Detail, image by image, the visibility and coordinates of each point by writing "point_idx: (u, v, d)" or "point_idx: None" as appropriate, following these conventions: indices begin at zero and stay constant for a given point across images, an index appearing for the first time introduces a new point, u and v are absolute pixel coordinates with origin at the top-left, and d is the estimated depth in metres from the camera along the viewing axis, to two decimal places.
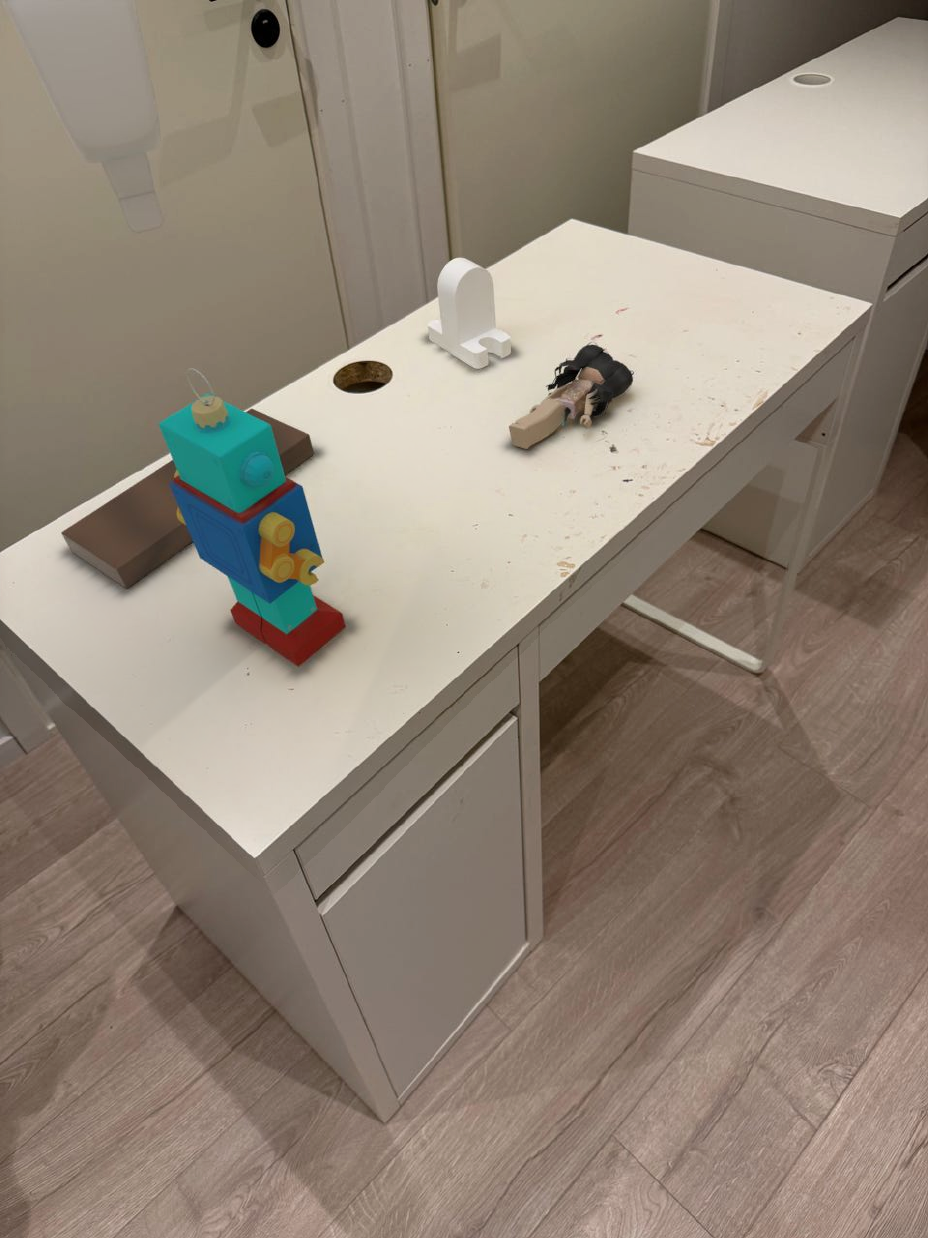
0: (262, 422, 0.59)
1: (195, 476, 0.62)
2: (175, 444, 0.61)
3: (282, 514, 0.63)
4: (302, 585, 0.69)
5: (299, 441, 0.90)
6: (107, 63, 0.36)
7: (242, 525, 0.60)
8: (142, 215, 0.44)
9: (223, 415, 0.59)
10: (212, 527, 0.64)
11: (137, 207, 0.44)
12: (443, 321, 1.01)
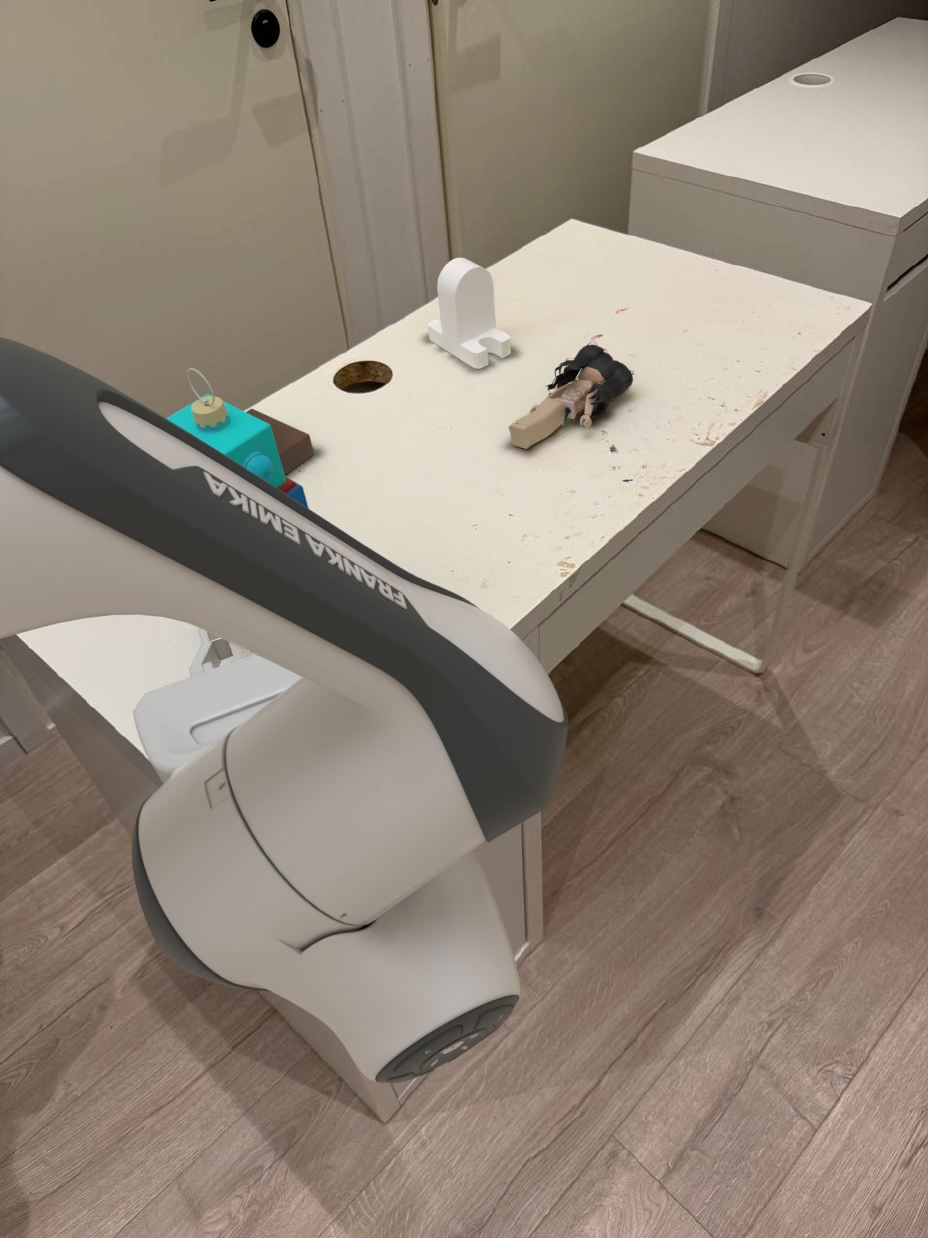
0: (262, 422, 0.59)
1: None
2: None
3: None
4: None
5: (299, 441, 0.90)
6: None
7: None
8: None
9: (223, 415, 0.59)
10: None
11: None
12: (443, 320, 1.01)
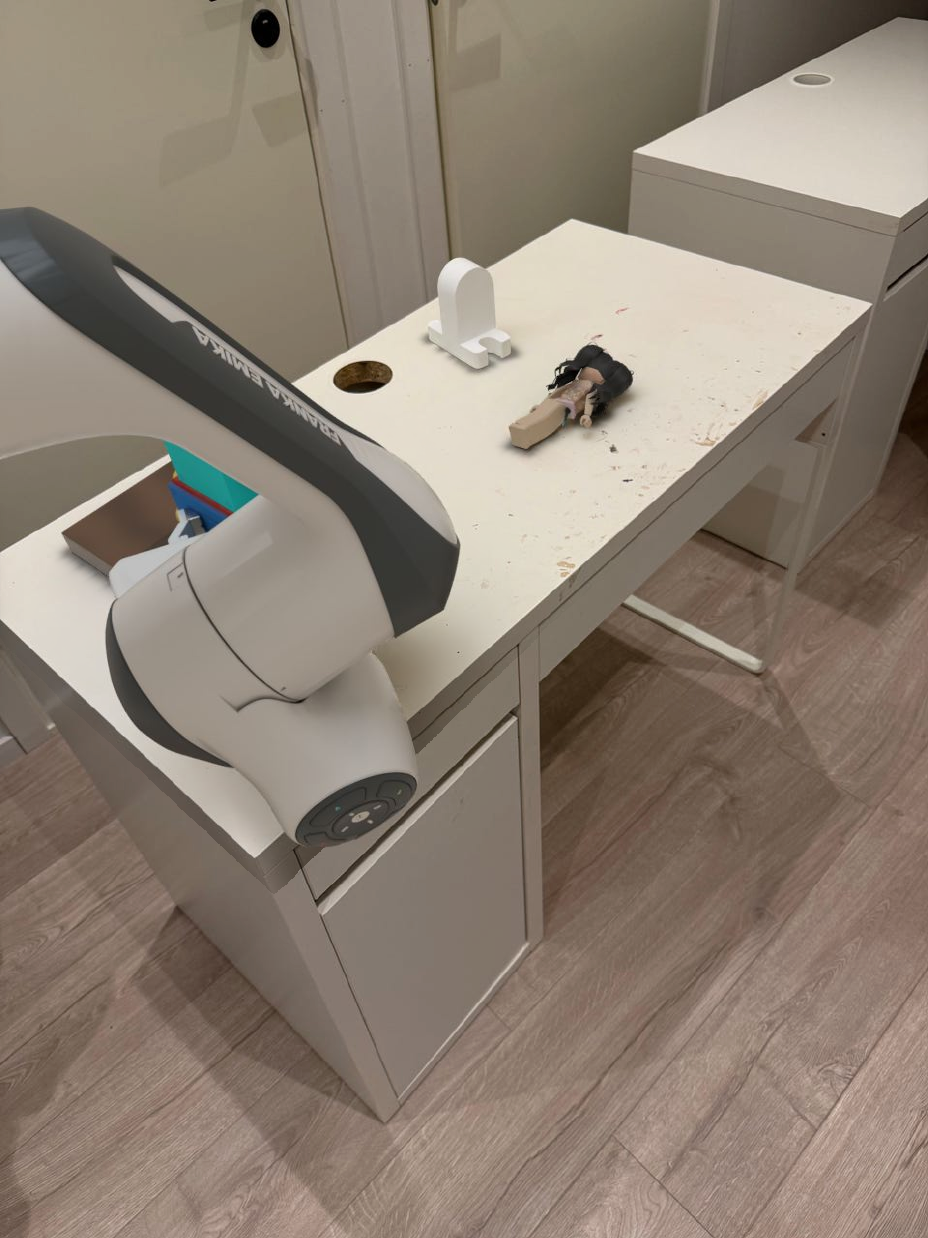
0: None
1: (193, 477, 0.62)
2: (173, 445, 0.61)
3: None
4: None
5: None
6: None
7: None
8: None
9: None
10: (211, 528, 0.64)
11: None
12: (443, 320, 1.01)
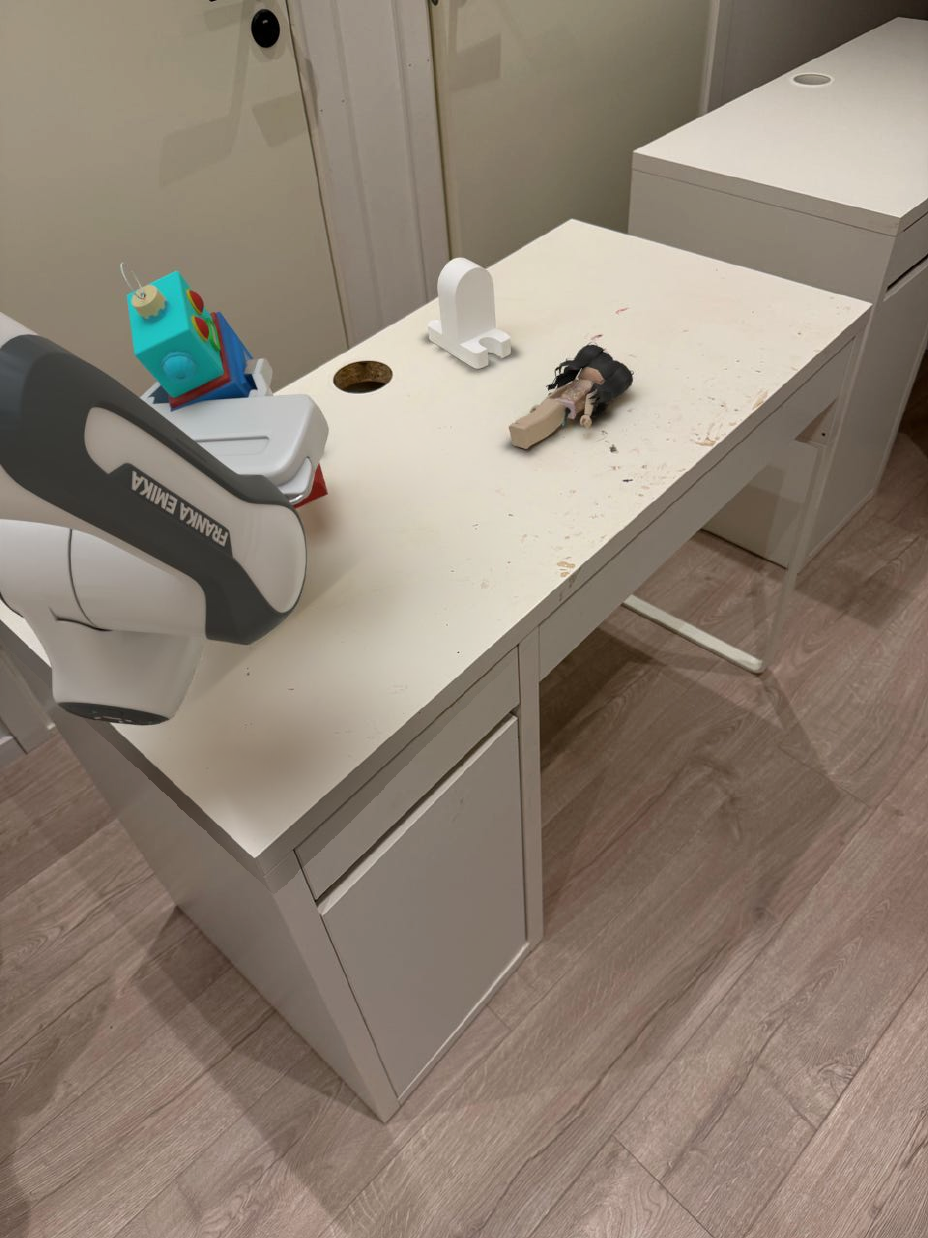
0: (185, 324, 0.63)
1: None
2: None
3: None
4: None
5: None
6: None
7: (171, 410, 0.67)
8: None
9: (154, 309, 0.63)
10: None
11: None
12: (443, 320, 1.01)
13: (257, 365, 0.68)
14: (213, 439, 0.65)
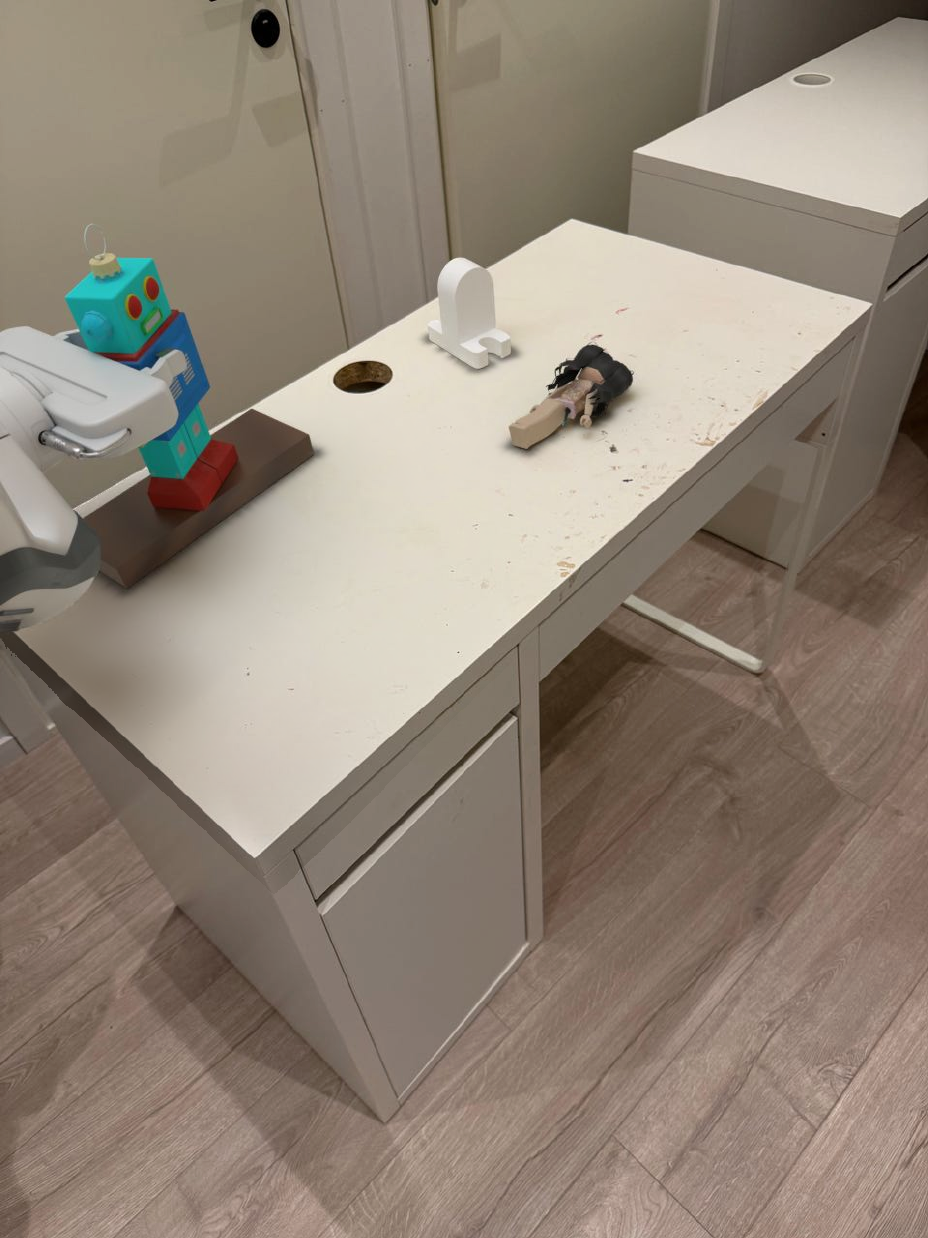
0: (114, 294, 0.69)
1: None
2: None
3: None
4: (164, 448, 0.79)
5: (299, 441, 0.90)
6: None
7: None
8: None
9: (102, 272, 0.70)
10: None
11: None
12: (443, 320, 1.01)
13: (170, 353, 0.73)
14: (73, 382, 0.70)
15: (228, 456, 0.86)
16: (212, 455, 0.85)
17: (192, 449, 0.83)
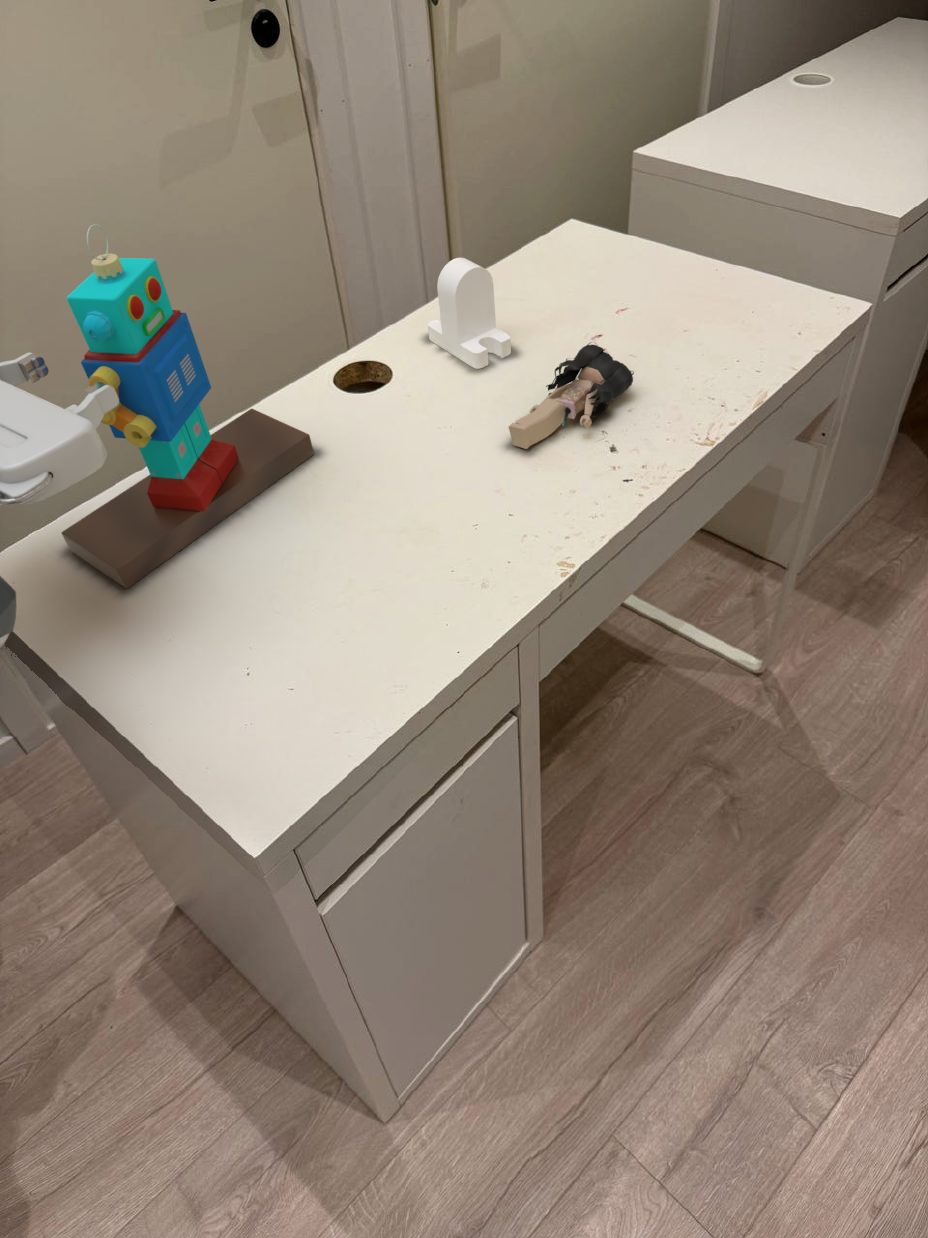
0: (116, 294, 0.69)
1: None
2: None
3: (120, 375, 0.73)
4: (165, 449, 0.79)
5: (299, 441, 0.90)
6: None
7: (82, 360, 0.73)
8: None
9: (104, 273, 0.70)
10: None
11: None
12: (443, 320, 1.01)
13: (100, 388, 0.69)
14: None
15: (228, 456, 0.86)
16: (212, 456, 0.85)
17: (192, 449, 0.83)
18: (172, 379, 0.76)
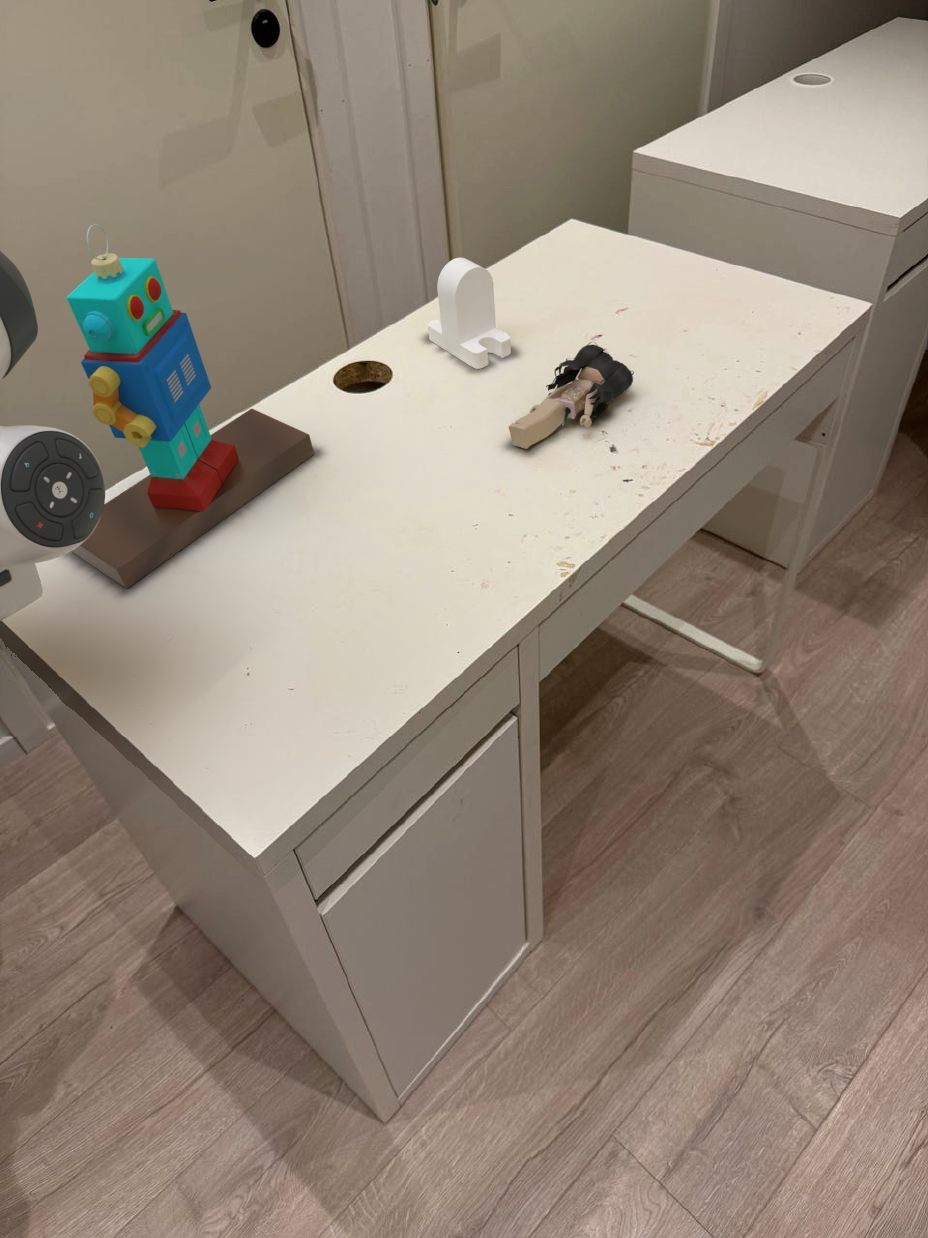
0: (116, 294, 0.69)
1: None
2: None
3: (120, 375, 0.73)
4: (164, 449, 0.79)
5: (299, 441, 0.90)
6: None
7: (82, 360, 0.73)
8: None
9: (104, 273, 0.70)
10: None
11: None
12: (443, 320, 1.01)
13: None
14: None
15: (228, 457, 0.86)
16: (212, 456, 0.85)
17: (192, 449, 0.83)
18: (172, 379, 0.76)
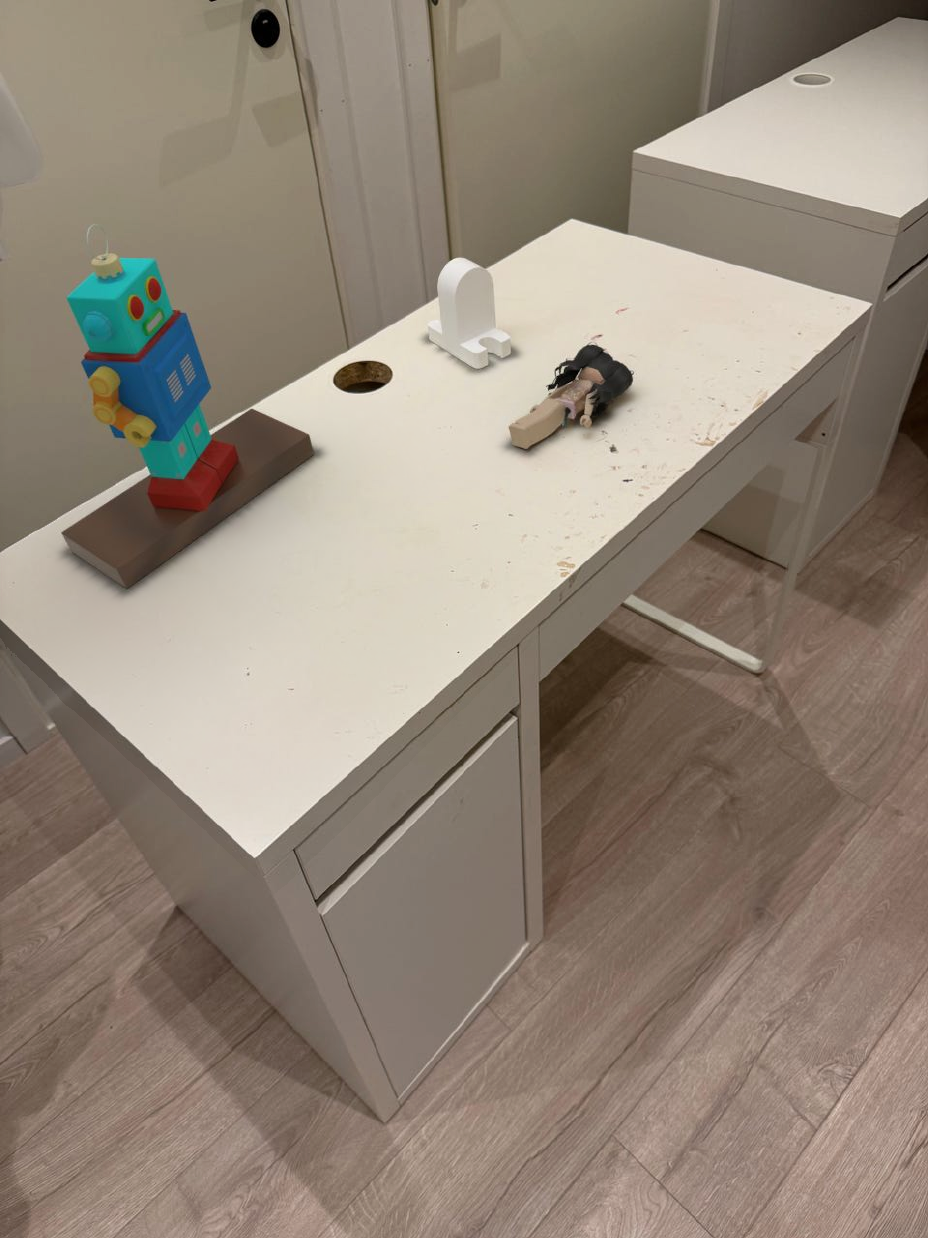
0: (116, 294, 0.69)
1: None
2: None
3: (120, 375, 0.73)
4: (165, 449, 0.79)
5: (299, 441, 0.90)
6: (20, 108, 0.57)
7: (82, 360, 0.73)
8: (4, 245, 0.61)
9: (104, 273, 0.70)
10: None
11: (1, 239, 0.61)
12: (443, 320, 1.01)
13: None
14: None
15: (228, 457, 0.86)
16: (212, 456, 0.85)
17: (192, 449, 0.83)
18: (172, 379, 0.76)
